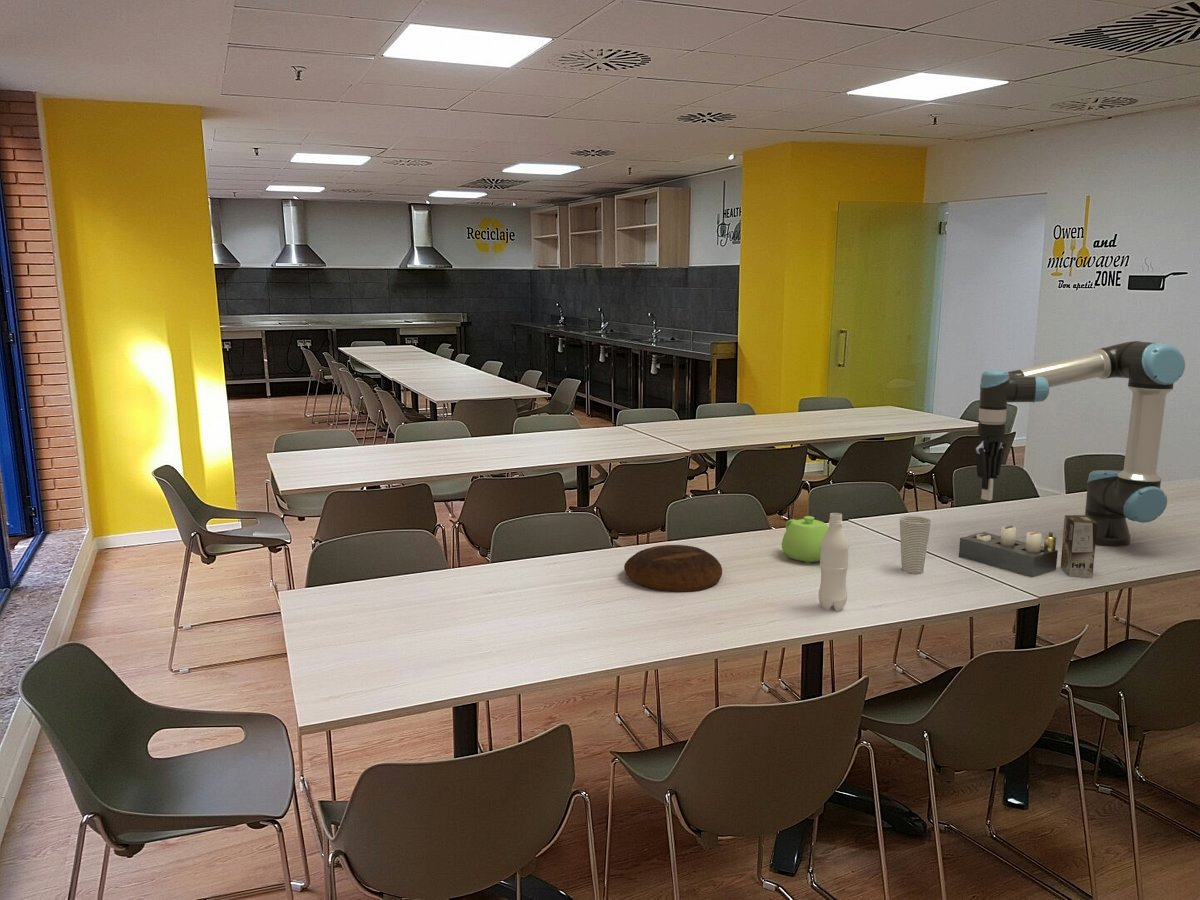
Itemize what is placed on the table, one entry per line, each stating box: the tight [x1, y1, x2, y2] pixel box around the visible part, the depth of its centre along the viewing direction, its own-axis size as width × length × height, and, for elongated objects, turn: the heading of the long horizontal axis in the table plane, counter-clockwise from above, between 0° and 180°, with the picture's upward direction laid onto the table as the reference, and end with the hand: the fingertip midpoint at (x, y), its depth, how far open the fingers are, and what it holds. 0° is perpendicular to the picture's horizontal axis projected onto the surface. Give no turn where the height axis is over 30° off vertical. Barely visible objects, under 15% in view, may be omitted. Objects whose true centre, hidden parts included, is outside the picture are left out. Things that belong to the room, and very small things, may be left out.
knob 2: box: [1000, 525, 1017, 547], centre depth 267 cm, size 4×4×7 cm
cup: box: [899, 515, 931, 575], centre depth 260 cm, size 8×8×16 cm
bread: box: [623, 544, 723, 592], centre depth 258 cm, size 28×27×9 cm
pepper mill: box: [1043, 531, 1057, 552], centre depth 260 cm, size 3×3×5 cm
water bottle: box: [818, 512, 850, 611], centre depth 231 cm, size 7×7×25 cm
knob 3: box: [1025, 531, 1043, 554], centre depth 260 cm, size 4×4×7 cm
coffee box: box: [1060, 514, 1098, 578], centre depth 258 cm, size 9×6×16 cm
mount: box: [958, 531, 1059, 578], centre depth 268 cm, size 12×24×6 cm, turn 33°
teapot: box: [781, 515, 829, 565], centre depth 273 cm, size 22×15×13 cm
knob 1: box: [976, 533, 991, 541], centre depth 274 cm, size 4×4×7 cm
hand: (986, 499), depth 272 cm, fingers closed
